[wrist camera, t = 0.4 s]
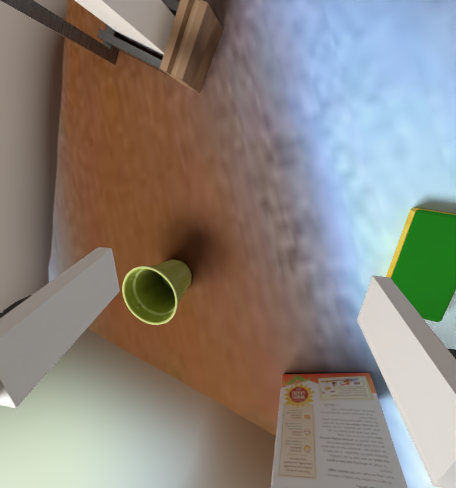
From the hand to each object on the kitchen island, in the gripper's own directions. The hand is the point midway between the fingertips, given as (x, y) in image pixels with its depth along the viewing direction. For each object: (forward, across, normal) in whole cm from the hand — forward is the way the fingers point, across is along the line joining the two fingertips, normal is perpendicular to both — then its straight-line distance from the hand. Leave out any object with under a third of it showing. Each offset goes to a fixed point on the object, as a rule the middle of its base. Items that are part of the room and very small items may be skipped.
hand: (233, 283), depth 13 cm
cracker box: (+19, +15, -32) cm, 40 cm away
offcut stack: (+30, -9, +15) cm, 35 cm away
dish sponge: (+22, +23, -8) cm, 33 cm away
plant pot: (+26, -13, -18) cm, 34 cm away
